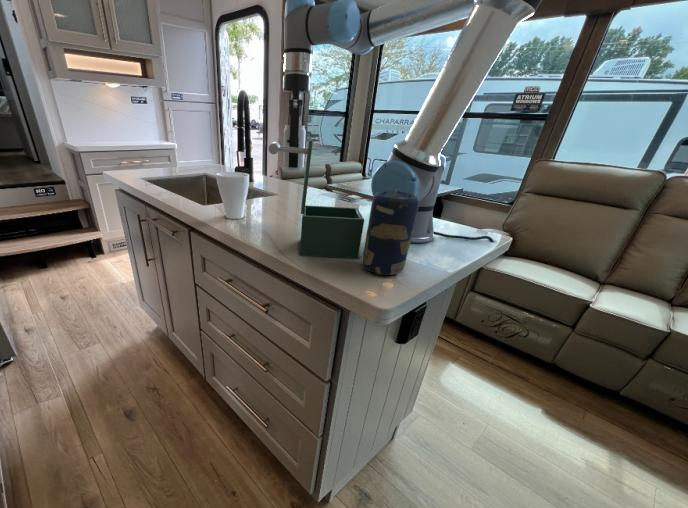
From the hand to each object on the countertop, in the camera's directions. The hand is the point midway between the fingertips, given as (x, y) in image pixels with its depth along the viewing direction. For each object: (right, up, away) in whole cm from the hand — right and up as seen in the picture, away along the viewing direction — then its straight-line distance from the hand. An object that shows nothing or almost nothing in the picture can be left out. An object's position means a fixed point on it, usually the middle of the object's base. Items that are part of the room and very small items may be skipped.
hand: (293, 165), depth 97 cm
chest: (+9, -28, -13) cm, 32 cm away
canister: (+20, -34, -23) cm, 46 cm away
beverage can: (0, -1, +1) cm, 1 cm away
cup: (-20, -13, +10) cm, 26 cm away
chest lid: (+3, -12, -22) cm, 25 cm away
